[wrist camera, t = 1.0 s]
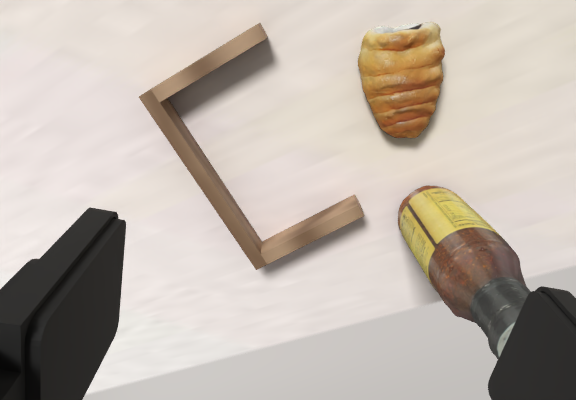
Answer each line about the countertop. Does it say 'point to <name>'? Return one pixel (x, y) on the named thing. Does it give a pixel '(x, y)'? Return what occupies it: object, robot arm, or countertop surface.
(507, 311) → the sauce bottle
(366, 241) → the countertop surface
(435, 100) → the pastry
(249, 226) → the open wooden frame
